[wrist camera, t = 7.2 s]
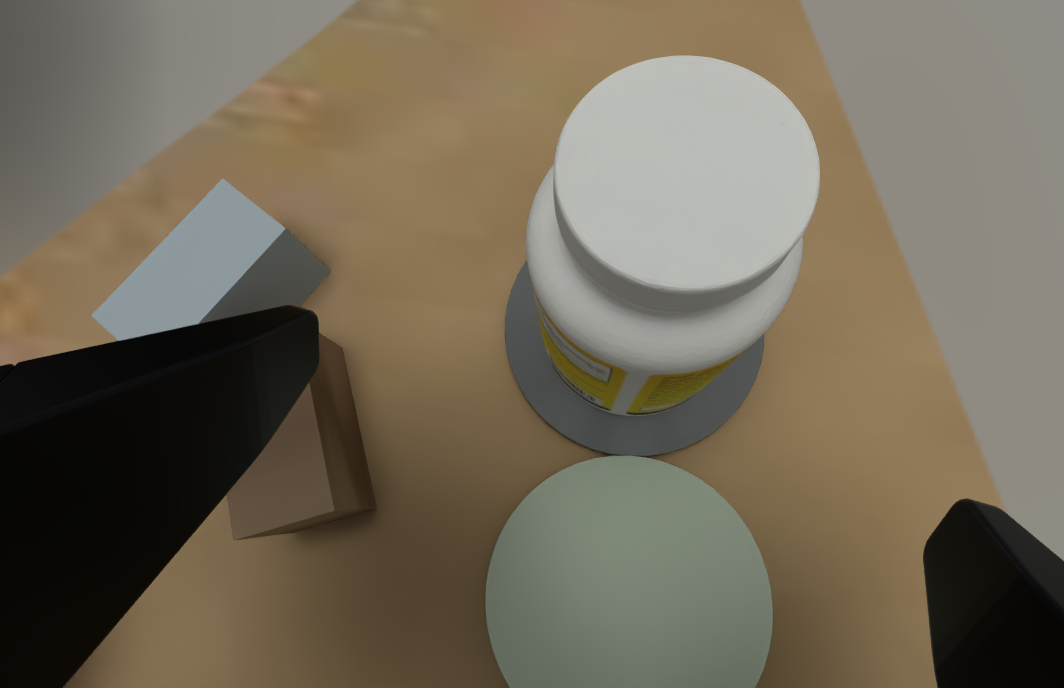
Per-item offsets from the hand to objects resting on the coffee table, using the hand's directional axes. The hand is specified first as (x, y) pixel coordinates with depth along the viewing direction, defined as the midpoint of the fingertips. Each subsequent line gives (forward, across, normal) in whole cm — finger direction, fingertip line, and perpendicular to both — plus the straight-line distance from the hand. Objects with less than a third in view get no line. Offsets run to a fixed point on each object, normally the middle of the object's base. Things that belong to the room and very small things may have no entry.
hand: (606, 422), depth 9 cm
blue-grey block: (+11, +14, +8) cm, 19 cm away
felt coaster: (+7, -2, +12) cm, 14 cm away
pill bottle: (+12, 0, +5) cm, 13 cm away
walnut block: (+8, +10, +10) cm, 16 cm away
